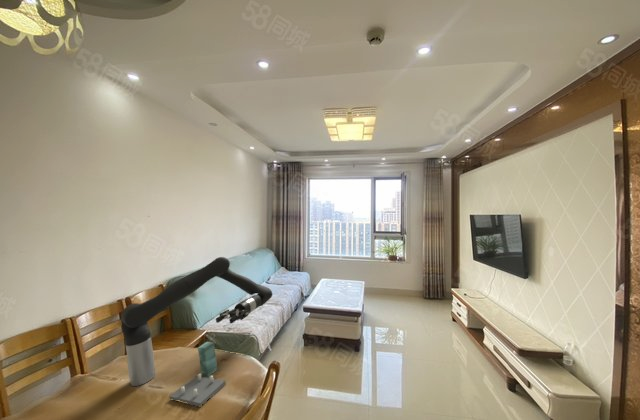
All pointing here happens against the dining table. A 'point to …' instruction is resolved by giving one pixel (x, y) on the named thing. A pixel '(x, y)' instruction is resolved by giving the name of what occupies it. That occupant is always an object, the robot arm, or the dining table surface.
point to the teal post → (207, 358)
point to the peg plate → (198, 390)
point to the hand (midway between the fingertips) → (223, 321)
